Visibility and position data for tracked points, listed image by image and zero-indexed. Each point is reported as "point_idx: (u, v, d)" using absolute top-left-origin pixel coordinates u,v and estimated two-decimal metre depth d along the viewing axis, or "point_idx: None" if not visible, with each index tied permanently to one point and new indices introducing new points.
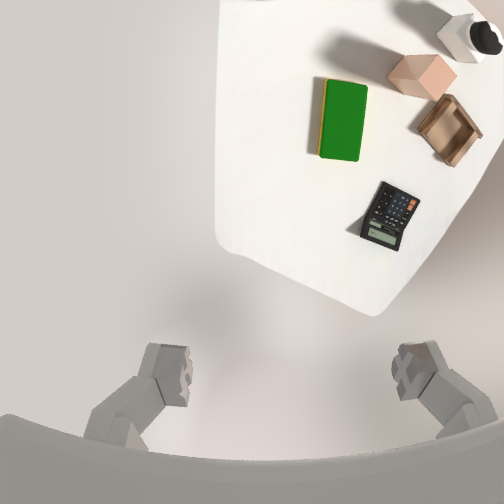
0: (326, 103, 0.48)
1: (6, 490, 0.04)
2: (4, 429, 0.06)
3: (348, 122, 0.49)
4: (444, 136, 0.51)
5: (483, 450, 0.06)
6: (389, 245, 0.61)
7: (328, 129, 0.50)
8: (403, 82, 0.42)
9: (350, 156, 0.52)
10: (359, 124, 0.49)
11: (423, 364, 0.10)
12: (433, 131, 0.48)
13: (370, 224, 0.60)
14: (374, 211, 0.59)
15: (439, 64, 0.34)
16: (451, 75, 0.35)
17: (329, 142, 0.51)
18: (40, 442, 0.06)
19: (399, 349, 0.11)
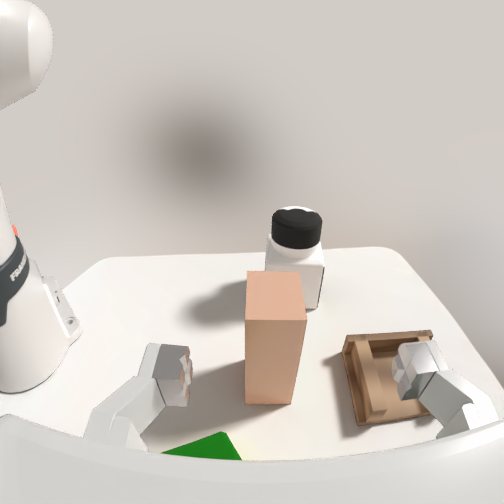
0: None
1: (6, 490, 0.04)
2: (4, 429, 0.06)
3: None
4: None
5: (483, 450, 0.06)
6: None
7: None
8: (255, 371, 0.26)
9: None
10: None
11: (423, 364, 0.10)
12: (376, 396, 0.27)
13: None
14: None
15: (259, 279, 0.27)
16: (290, 277, 0.27)
17: None
18: (40, 442, 0.06)
19: (399, 349, 0.11)
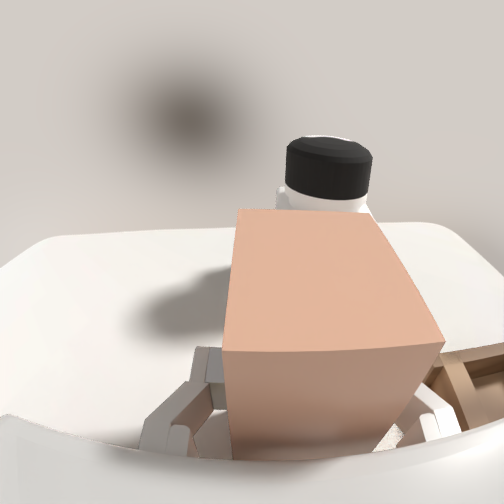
0: None
1: (6, 490, 0.04)
2: (4, 429, 0.06)
3: None
4: None
5: (483, 450, 0.06)
6: None
7: None
8: None
9: None
10: None
11: None
12: None
13: None
14: None
15: (272, 225, 0.10)
16: (353, 222, 0.10)
17: None
18: (40, 442, 0.06)
19: None
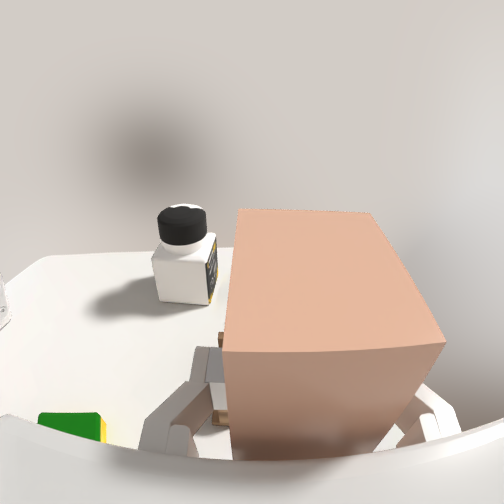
0: None
1: (6, 490, 0.04)
2: (4, 429, 0.06)
3: None
4: None
5: (483, 450, 0.06)
6: None
7: None
8: None
9: None
10: None
11: None
12: None
13: None
14: None
15: (273, 225, 0.10)
16: (354, 222, 0.10)
17: None
18: (40, 442, 0.06)
19: None
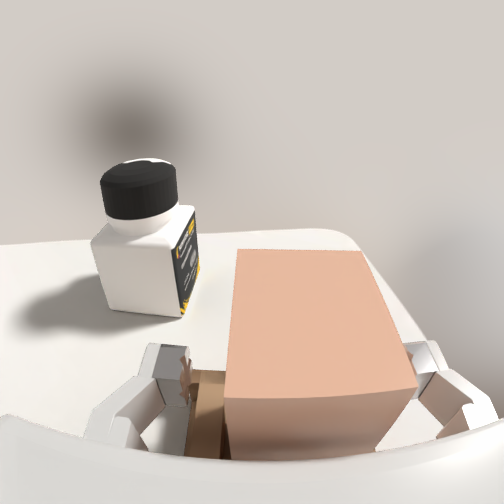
0: None
1: (6, 490, 0.04)
2: (4, 429, 0.06)
3: None
4: None
5: (483, 450, 0.06)
6: None
7: None
8: None
9: None
10: None
11: (423, 364, 0.10)
12: None
13: None
14: None
15: (269, 268, 0.10)
16: (345, 262, 0.11)
17: None
18: (40, 442, 0.06)
19: None
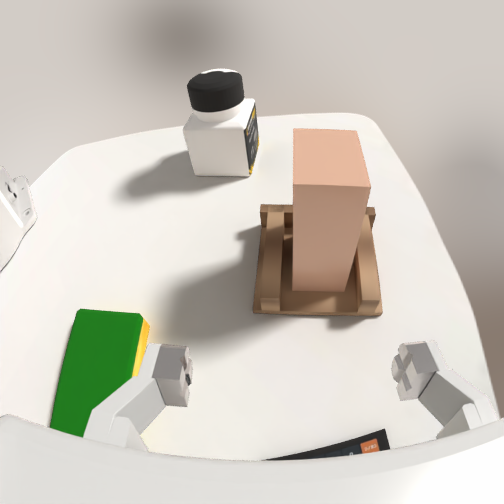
0: (67, 349, 0.24)
1: (6, 490, 0.04)
2: (4, 429, 0.06)
3: (97, 386, 0.22)
4: None
5: (483, 450, 0.06)
6: None
7: (63, 397, 0.21)
8: (305, 251, 0.23)
9: None
10: None
11: (423, 364, 0.10)
12: (270, 280, 0.26)
13: None
14: None
15: (309, 137, 0.21)
16: (347, 136, 0.20)
17: (63, 423, 0.20)
18: (40, 442, 0.06)
19: (399, 349, 0.11)
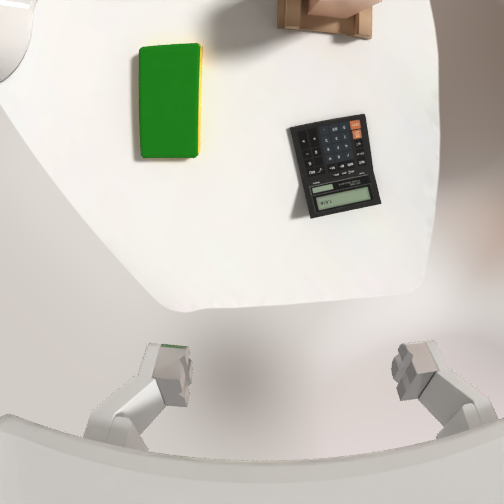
0: (140, 81, 0.31)
1: (6, 490, 0.04)
2: (4, 429, 0.06)
3: (173, 102, 0.33)
4: None
5: (483, 450, 0.06)
6: (362, 203, 0.39)
7: (146, 116, 0.34)
8: (324, 6, 0.24)
9: (183, 151, 0.36)
10: (190, 102, 0.33)
11: (423, 364, 0.10)
12: (293, 13, 0.27)
13: (314, 193, 0.40)
14: (308, 173, 0.39)
15: None
16: None
17: (151, 135, 0.35)
18: (40, 442, 0.06)
19: (399, 349, 0.11)
